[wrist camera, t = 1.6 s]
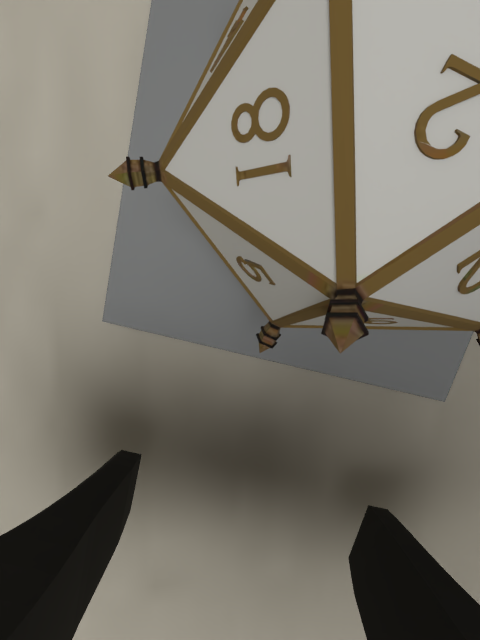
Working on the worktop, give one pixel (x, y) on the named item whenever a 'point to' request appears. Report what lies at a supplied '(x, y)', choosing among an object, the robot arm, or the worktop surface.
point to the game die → (338, 163)
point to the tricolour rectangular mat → (202, 260)
